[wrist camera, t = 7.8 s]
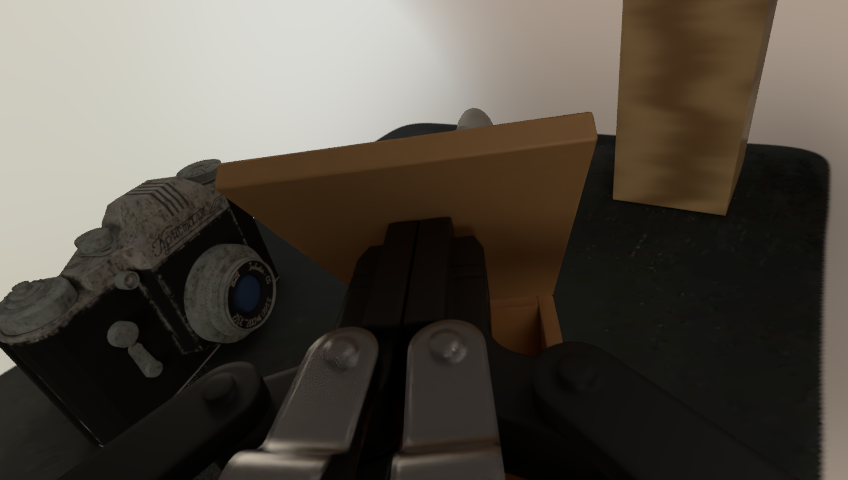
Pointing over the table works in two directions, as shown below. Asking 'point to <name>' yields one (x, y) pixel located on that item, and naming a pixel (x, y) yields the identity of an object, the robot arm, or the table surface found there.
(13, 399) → the table surface
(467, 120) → the pale two-lobed sculpture
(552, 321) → the case
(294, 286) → the table surface
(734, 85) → the post
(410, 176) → the case lid
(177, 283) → the camera
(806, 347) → the table surface
